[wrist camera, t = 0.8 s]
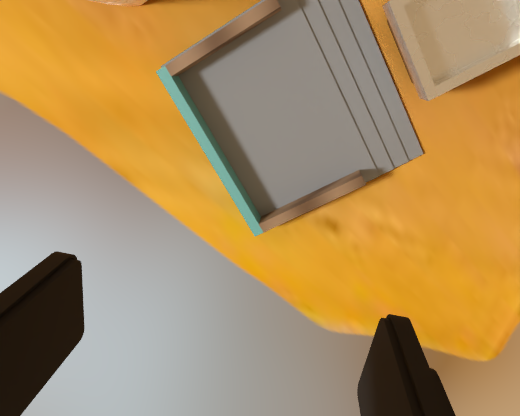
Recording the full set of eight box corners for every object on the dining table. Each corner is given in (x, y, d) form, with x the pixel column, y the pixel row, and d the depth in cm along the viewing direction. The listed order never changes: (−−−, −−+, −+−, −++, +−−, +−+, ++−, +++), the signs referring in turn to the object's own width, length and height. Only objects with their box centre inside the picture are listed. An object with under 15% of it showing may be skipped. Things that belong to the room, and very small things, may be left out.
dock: (337, -48, 31) (340, -58, 28) (423, 153, 36) (431, 160, 33) (163, 66, 35) (152, 66, 33) (260, 229, 40) (257, 240, 38)
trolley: (533, -83, 28) (578, -111, 24) (561, 18, 31) (608, 10, 26) (376, 10, 32) (388, 1, 27) (411, 95, 34) (428, 100, 29)
